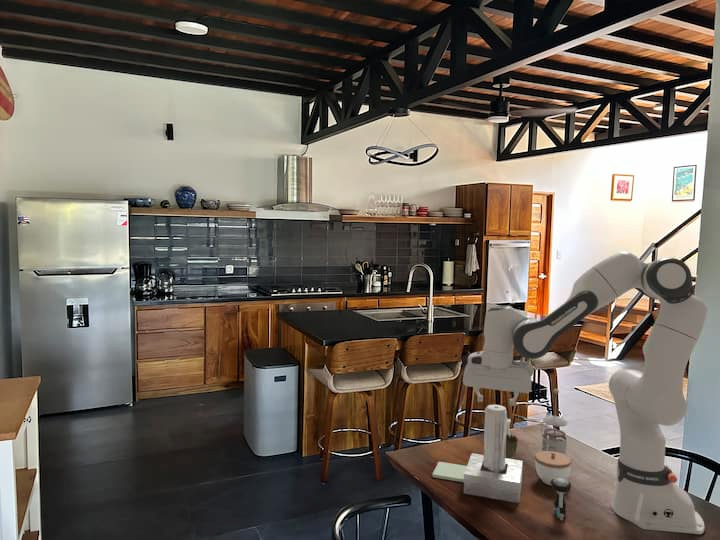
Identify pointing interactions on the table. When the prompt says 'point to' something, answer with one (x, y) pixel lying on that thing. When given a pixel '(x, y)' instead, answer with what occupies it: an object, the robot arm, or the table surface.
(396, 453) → the table surface
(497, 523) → the table surface
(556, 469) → the lidded jar
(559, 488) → the push button
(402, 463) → the table surface
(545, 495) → the table surface
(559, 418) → the french press
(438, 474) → the pad
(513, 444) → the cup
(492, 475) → the bore block
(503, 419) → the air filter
